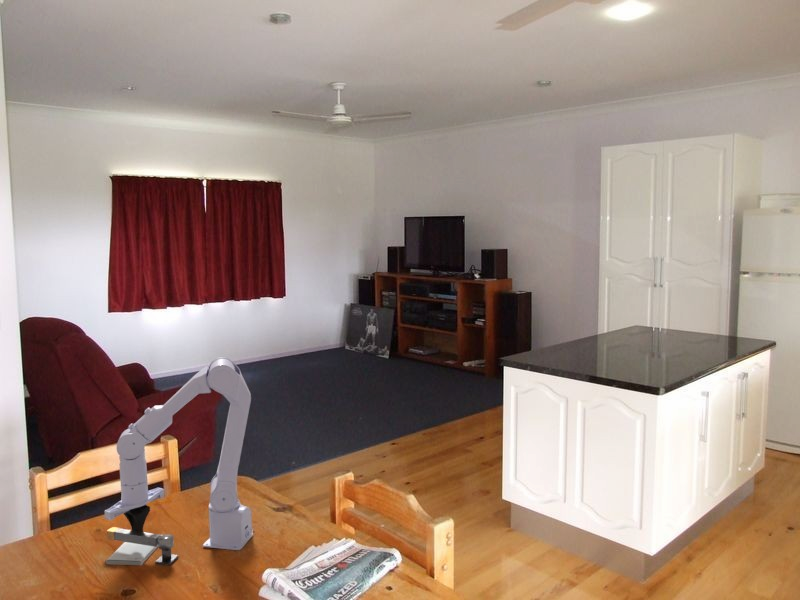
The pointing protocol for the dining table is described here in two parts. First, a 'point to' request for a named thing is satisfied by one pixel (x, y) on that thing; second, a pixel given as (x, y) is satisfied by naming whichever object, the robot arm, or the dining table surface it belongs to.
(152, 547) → the hard drive
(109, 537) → the grey long bar
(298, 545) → the dining table surface
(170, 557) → the grey small stand
